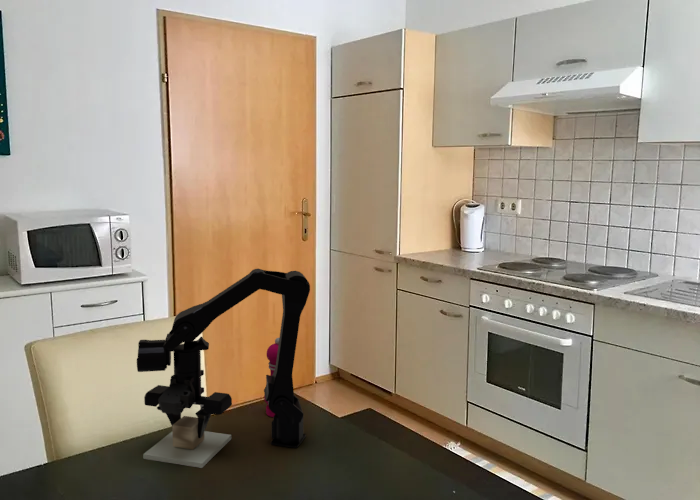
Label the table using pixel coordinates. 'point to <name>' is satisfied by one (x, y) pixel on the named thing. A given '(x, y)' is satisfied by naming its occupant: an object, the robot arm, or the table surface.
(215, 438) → the sage plate
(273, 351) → the pepper mill
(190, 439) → the birch cube
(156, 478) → the table surface
